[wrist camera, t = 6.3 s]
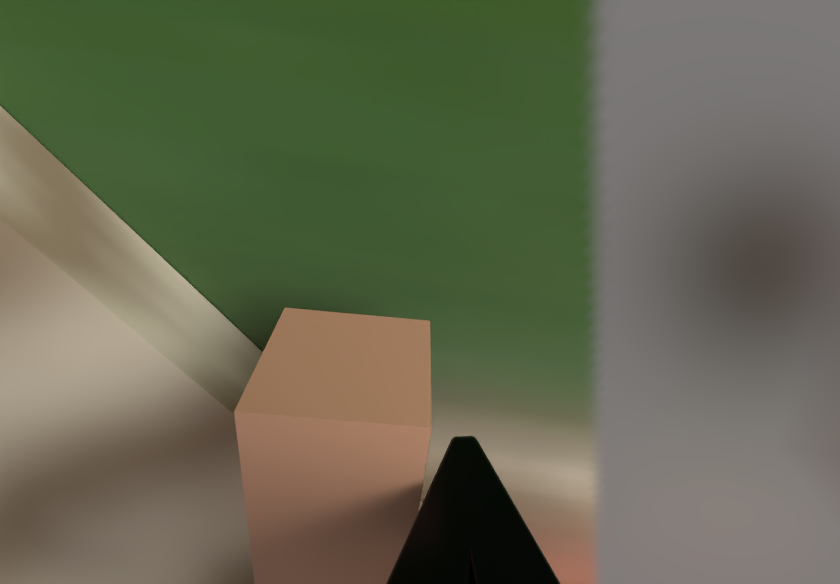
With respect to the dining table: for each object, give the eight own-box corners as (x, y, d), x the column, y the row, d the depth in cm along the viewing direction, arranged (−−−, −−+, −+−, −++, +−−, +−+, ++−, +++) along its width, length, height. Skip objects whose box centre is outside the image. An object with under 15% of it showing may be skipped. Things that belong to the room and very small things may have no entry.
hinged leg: (399, 617, 16) (393, 744, 13) (289, 610, 16) (260, 737, 13) (444, 319, 10) (450, 434, 7) (270, 303, 10) (211, 415, 7)
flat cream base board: (434, 513, 18) (437, 707, 13) (121, 649, 23) (37, 824, 18) (-35, 72, 10) (-454, 122, 5) (-334, 420, 16) (-686, 606, 11)
